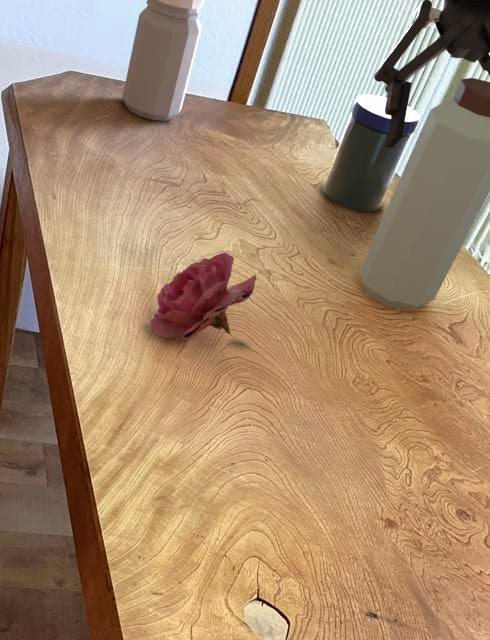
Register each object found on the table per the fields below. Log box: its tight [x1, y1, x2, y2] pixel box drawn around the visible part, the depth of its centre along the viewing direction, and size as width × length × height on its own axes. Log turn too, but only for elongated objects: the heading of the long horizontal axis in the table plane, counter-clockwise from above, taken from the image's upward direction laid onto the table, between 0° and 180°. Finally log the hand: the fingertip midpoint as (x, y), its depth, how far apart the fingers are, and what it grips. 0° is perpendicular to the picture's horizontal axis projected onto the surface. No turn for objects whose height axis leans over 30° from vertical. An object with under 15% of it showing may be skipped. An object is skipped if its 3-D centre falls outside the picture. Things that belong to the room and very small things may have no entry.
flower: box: [150, 252, 257, 346], centre depth 96 cm, size 11×10×10 cm
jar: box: [122, 0, 205, 122], centre depth 139 cm, size 10×10×18 cm
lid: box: [350, 94, 420, 135], centre depth 126 cm, size 9×9×2 cm
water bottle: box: [359, 77, 490, 312], centre depth 106 cm, size 10×10×25 cm
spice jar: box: [322, 112, 413, 212], centre depth 131 cm, size 9×9×13 cm
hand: (449, 155), depth 105 cm, fingers open, 13 cm apart
